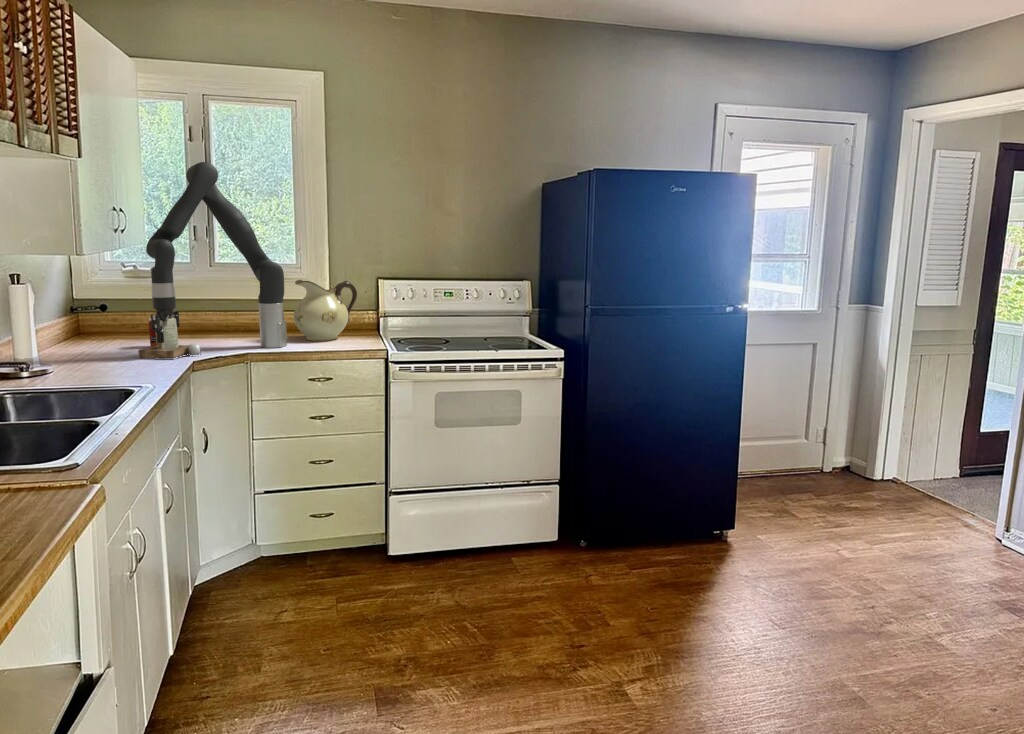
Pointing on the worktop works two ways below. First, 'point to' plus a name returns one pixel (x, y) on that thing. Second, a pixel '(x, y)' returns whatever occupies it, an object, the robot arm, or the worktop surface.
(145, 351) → the holder
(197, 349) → the grey round ball
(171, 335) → the skincare box
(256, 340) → the worktop surface
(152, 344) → the canned food
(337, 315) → the pitcher
